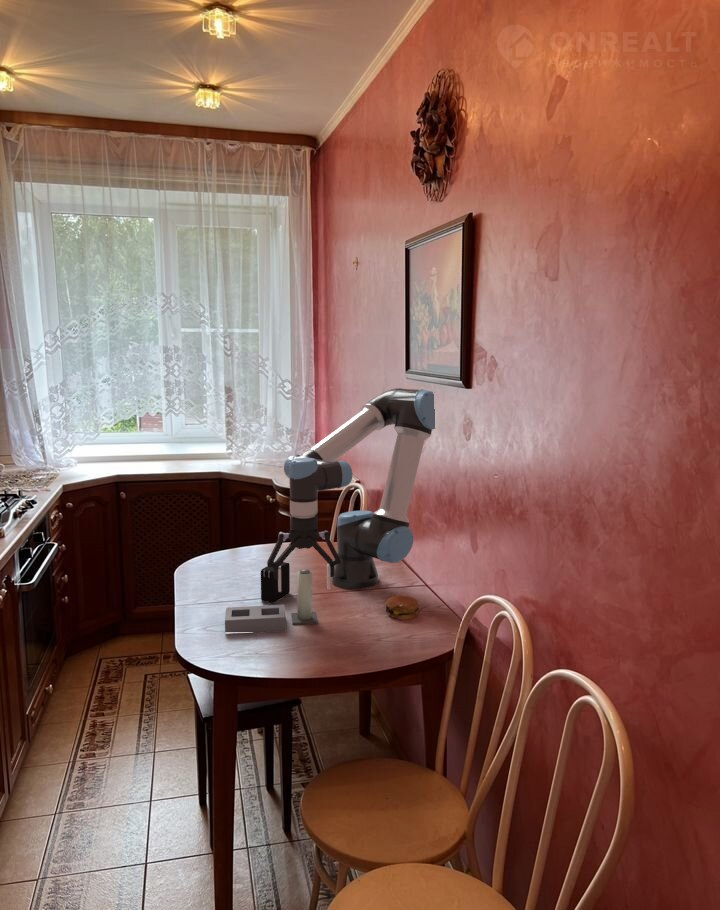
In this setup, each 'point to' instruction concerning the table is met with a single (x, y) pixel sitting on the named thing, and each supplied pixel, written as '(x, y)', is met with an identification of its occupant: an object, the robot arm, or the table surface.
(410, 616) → the burger
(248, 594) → the table surface
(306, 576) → the plug
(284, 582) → the electronic device
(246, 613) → the gray cinder block
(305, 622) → the coaster
